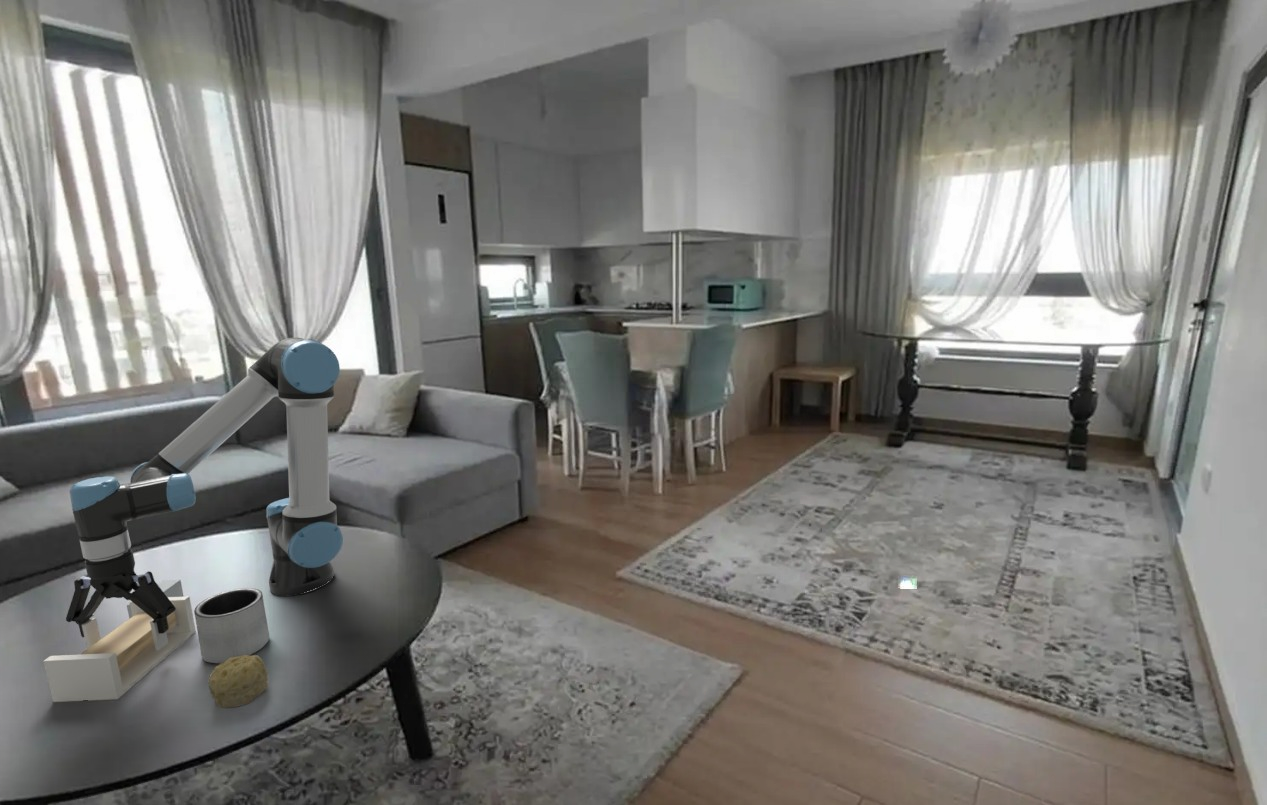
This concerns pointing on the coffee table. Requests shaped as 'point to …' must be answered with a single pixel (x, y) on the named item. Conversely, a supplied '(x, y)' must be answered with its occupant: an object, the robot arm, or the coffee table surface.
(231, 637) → the planter
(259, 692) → the decorative item
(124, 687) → the shelf bay
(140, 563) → the coffee table surface
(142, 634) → the board
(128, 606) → the block
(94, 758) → the coffee table surface
